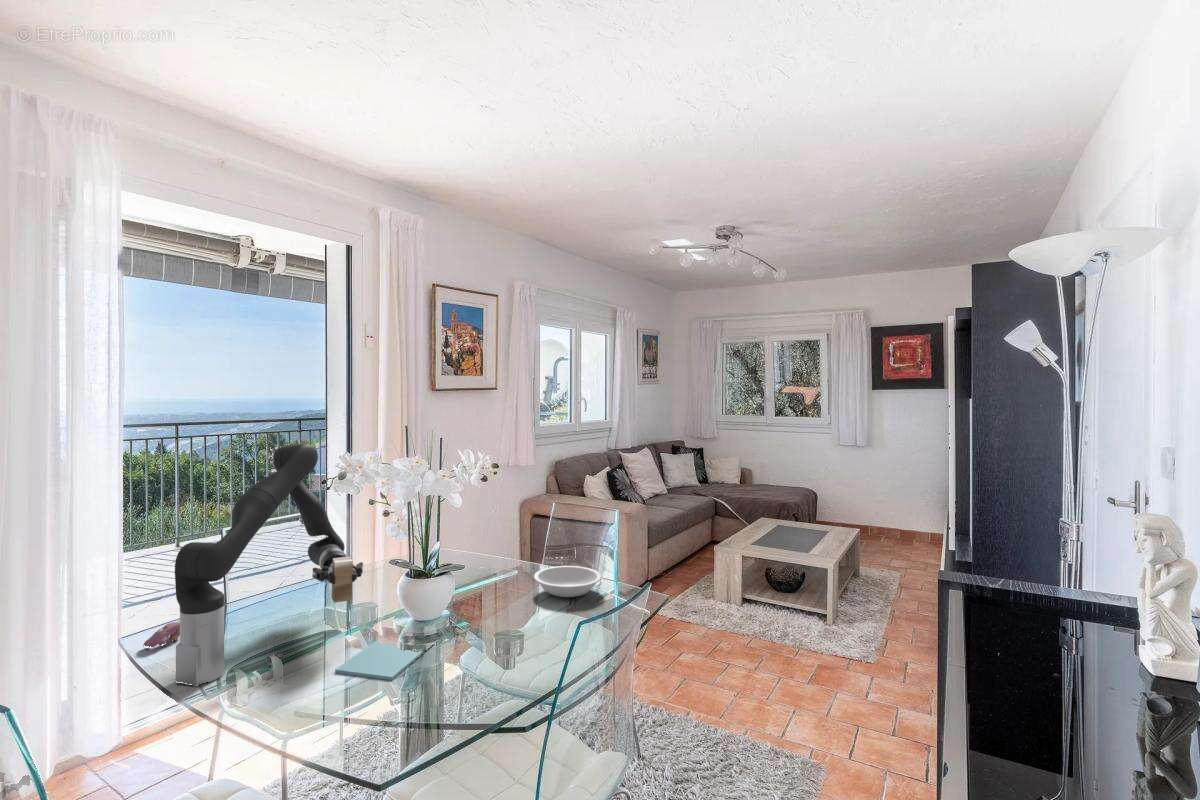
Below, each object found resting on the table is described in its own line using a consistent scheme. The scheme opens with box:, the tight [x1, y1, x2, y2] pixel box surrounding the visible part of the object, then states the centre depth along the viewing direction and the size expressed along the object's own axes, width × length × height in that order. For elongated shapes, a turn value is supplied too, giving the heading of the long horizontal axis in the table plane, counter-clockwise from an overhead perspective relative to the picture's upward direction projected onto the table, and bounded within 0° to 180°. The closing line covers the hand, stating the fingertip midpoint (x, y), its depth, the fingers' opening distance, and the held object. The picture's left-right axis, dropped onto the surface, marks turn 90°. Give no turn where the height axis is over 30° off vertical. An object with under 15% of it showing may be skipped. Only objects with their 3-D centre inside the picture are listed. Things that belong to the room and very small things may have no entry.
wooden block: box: [331, 556, 354, 604], centre depth 167 cm, size 4×4×11 cm
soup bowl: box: [533, 565, 602, 598], centre depth 214 cm, size 24×24×7 cm
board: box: [334, 640, 423, 681], centre depth 162 cm, size 22×16×1 cm
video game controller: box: [143, 619, 180, 648], centre depth 168 cm, size 10×5×7 cm, turn 170°
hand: (343, 579), depth 165 cm, fingers closed on wooden block, 4 cm apart
